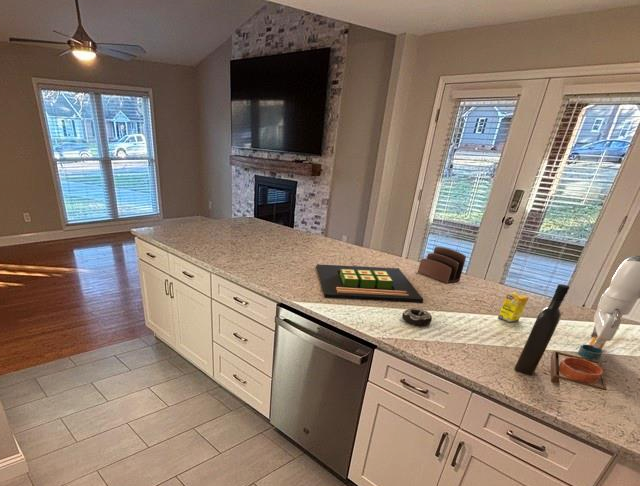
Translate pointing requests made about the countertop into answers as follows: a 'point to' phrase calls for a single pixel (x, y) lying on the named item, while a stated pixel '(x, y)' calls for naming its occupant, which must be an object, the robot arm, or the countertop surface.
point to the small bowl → (590, 352)
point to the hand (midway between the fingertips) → (594, 341)
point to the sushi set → (366, 283)
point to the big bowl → (580, 364)
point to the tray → (556, 377)
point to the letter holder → (443, 265)
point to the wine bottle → (541, 333)
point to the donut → (417, 317)
